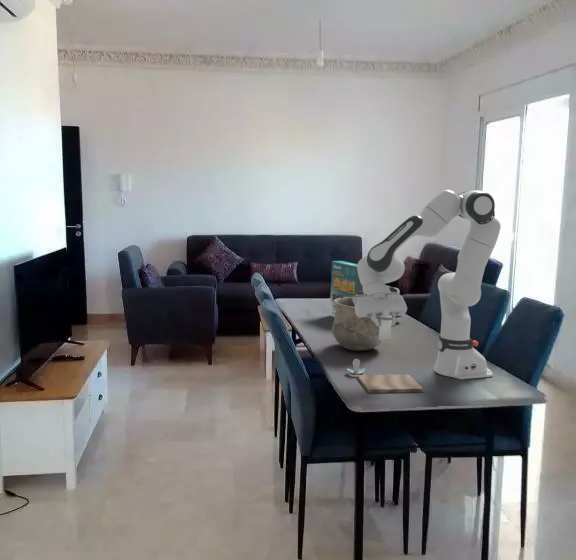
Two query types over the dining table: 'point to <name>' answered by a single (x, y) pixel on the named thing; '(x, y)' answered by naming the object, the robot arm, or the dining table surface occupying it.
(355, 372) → the pacifier
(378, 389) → the board
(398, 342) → the dining table surface
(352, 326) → the pot
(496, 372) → the dining table surface
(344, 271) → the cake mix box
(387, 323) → the white bar-topped cylinder
